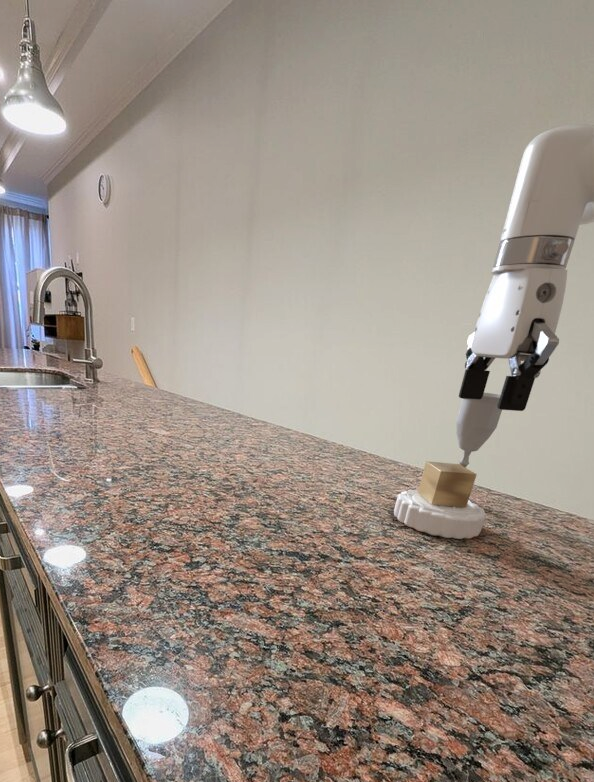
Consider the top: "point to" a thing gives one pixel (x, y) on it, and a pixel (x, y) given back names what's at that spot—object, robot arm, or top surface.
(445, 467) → the block
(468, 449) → the chalice
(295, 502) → the top surface
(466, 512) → the mooncake
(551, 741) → the top surface
